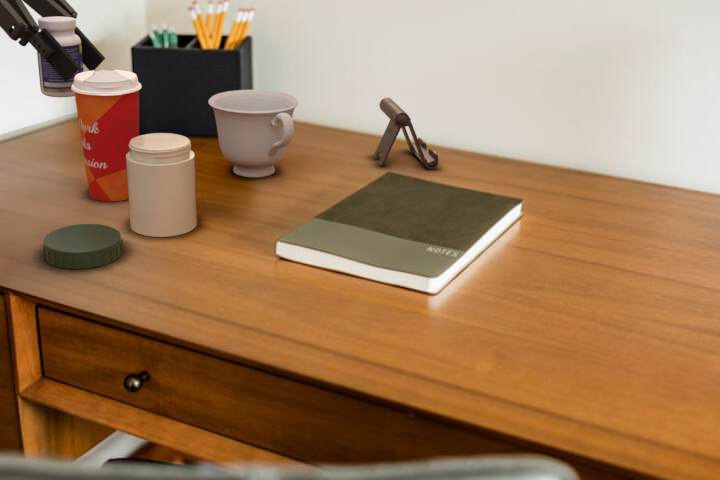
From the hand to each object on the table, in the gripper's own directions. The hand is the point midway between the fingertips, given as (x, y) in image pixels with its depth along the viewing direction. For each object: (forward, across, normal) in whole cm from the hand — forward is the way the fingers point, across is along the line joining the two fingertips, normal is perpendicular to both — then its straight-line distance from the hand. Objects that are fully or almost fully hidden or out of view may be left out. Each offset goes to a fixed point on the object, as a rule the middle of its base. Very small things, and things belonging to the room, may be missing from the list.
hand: (85, 69), depth 119 cm
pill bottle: (0, 0, -5) cm, 5 cm away
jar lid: (+19, +28, +2) cm, 34 cm away
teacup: (+26, -4, +7) cm, 27 cm away
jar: (+23, +17, +4) cm, 29 cm away
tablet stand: (+38, -17, +19) cm, 46 cm away
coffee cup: (+16, +10, -3) cm, 19 cm away
